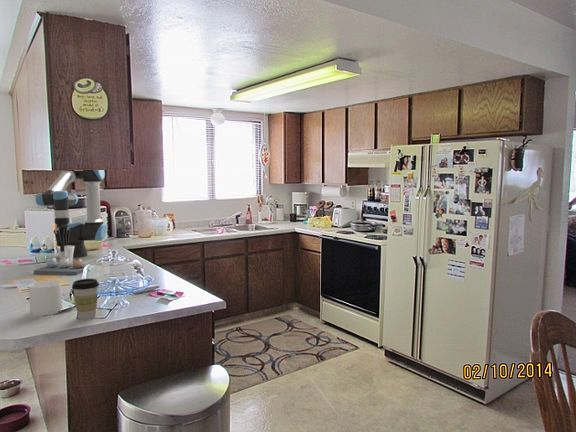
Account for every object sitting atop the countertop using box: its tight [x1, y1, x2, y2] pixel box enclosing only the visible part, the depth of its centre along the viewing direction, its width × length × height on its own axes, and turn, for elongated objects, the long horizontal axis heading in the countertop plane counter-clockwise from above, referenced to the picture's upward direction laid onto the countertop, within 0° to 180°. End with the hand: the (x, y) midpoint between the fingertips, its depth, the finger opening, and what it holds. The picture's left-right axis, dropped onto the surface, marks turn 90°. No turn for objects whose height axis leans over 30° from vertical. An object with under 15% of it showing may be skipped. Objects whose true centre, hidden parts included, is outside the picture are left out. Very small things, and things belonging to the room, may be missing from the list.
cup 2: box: [56, 246, 75, 264], centre depth 263 cm, size 10×10×11 cm
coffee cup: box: [71, 278, 100, 321], centre depth 168 cm, size 10×10×15 cm
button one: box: [46, 257, 57, 267], centre depth 246 cm, size 5×5×5 cm
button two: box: [59, 258, 69, 267], centre depth 246 cm, size 5×5×5 cm
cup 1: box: [28, 279, 63, 317], centre depth 175 cm, size 12×12×12 cm
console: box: [33, 263, 87, 276], centre depth 246 cm, size 18×26×2 cm
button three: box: [72, 257, 83, 268], centre depth 245 cm, size 5×5×5 cm
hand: (63, 256), depth 245 cm, fingers closed
